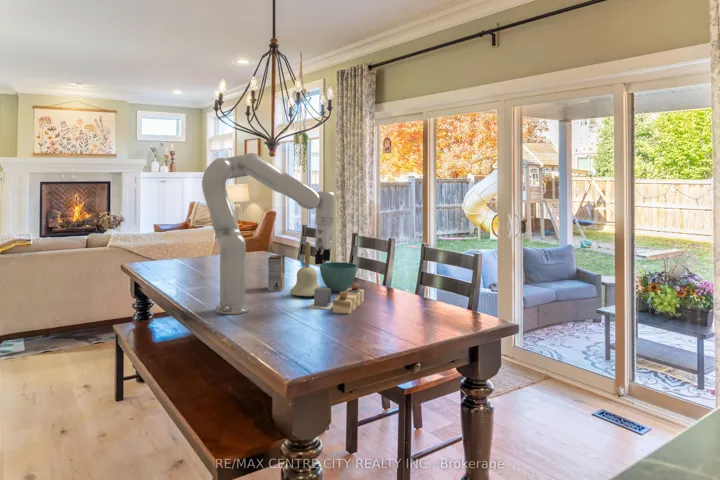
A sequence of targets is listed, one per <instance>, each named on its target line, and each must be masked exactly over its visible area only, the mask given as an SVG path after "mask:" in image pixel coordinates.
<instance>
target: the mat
mask: <svg viewBox="0 0 720 480" xmlns="http://www.w3.org/2000/svg"><path fill="white" fill-rule="evenodd" d="M306 308H307V309H315V310H326V311H328V310H329V311H331V310H333V302H331V305H329V306H328V307H323V306H314V302H313V303H311V304H310V305H308V306H307V307H306Z"/></svg>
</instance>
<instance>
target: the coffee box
mask: <svg viewBox="0 0 720 480" xmlns="http://www.w3.org/2000/svg"><path fill="white" fill-rule="evenodd" d="M285 260H286V257H285V255H284V254H283V255H281V254H279V255H277V254H275V255H274V254H272V255H270V256H269V257H268V262H267V264H268V265H267V266H268V267H267V271H268V272H267V273H268V275H267V276H268V277H267V282H268V286H267V291H268V292H282V291H283V290H284V288H285V267H286V266H285V265H286V264H285Z"/></svg>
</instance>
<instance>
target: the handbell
mask: <svg viewBox="0 0 720 480" xmlns="http://www.w3.org/2000/svg"><path fill="white" fill-rule="evenodd" d="M310 244H311V243H310V241H306V242H305V245H304V262H305V263H304V264H305V266H303V267H300V268H299V269H298V270H297V273H296V283H295V285H293V287H292V288H291V289H290V290H289V294H291V295H294V296H300V297H314V289H316V288H317V287H319V288H321V287H320V286H319V285H318V273H317V271H316V269H315V268H314V267H310V261H311V245H310Z"/></svg>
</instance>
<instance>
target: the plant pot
mask: <svg viewBox="0 0 720 480" xmlns="http://www.w3.org/2000/svg"><path fill="white" fill-rule="evenodd" d="M319 271H320V275H321V278H322V281H323V282H324V283H323V284H324V285H325V286H326V288H331V292H339V293H340V292H341V291H346V290H347V289H349V288H351V287H350V286H352V284H353V282H354V281H355V278H356V275H357V271H358V264H355V263H352V262H346V261H345V262H343V261H340V262H338V261H337V262H336V261H335V262H334V261H331V262H330V261H328V262H323V264H319Z"/></svg>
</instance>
